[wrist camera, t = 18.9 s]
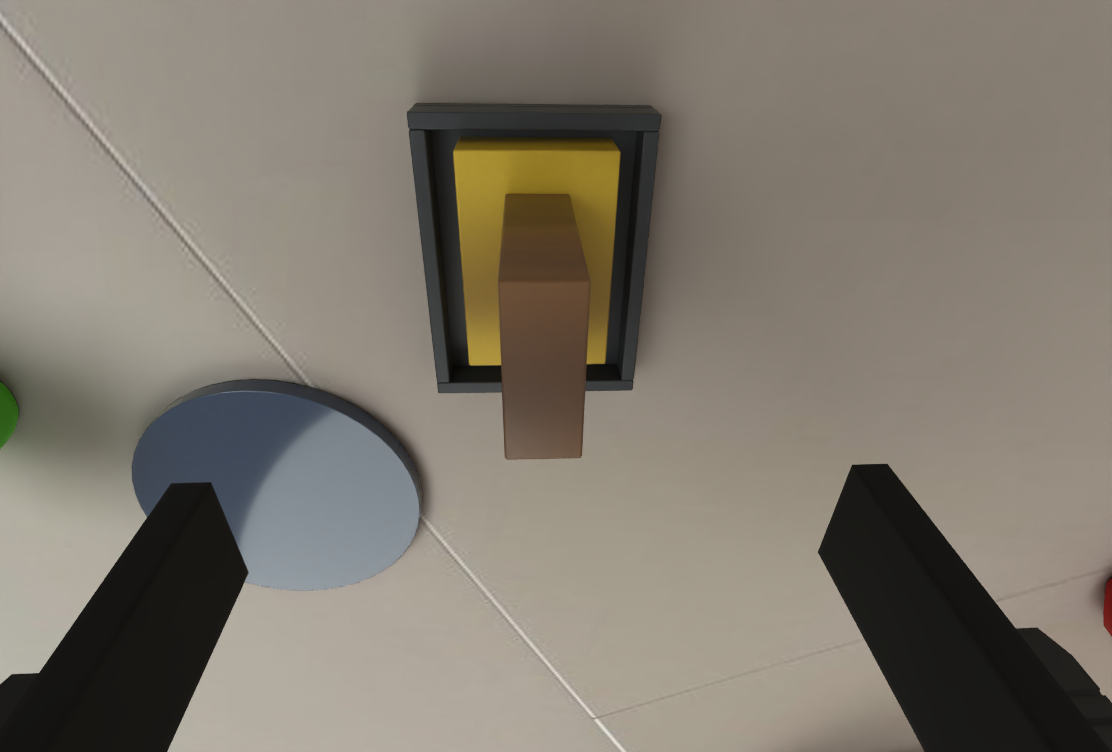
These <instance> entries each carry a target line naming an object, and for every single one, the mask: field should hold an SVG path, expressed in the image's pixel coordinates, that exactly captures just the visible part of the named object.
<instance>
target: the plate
mask: <svg viewBox="0 0 1112 752" xmlns="http://www.w3.org/2000/svg"><path fill="white" fill-rule="evenodd" d="M132 481H133V486H134V490H135V494H136V496H137V499H138V501H139V504H140V506H141V508H142V510H143V511H144V513H145V514H146V516H147V517H148V516H149V514H150V513H151V511H152V510H153V509H154V507H155V506H156V504H157V503H158V501H159V500H160V499H161V497H162V496H163V494H164V493H165V491H166V490H167V488H168V487H169V486H170V484H171V483H199V482H211V483H212V486H213V488H214V490H215V493H216V495H217V498H218V500H219V502H220V505H221V507H222V509H223V512H224V514H225V517H226V519H227V521H228V524H229V526H230V529H231V531H232V533H233V536H234V538H235V541H236V543H237V545H238V548H239V550H240V553H241V555H242V557H243V560H244V562H245V564H246V567H247V569H248V572H249V573H248V575H247V578H246V580H245V582H246V583H250V584H254V585H258V586H262V587H268V588H274V589H282V590H293V591H313V590H326V589H333V588H339V587H343V586H347V585H351V584H355V583H358V582H360V581H363V580H366V579H368V578H371V577H372V576H374V575H376V574H378V573H380V572H382V571H383V570H385V569H386V568H388V567H389V566H391V565H392V564H393V563H394V562H395V561H396V560H398V559H399V558H400V557H401V556H402V555H403V553H404V552H405V551H406V549H407V548H408V547H409V545H410V544H411V542H412V540H413V538H414V536H415V534H416V531H417V528H418V524H419V520H420V514H421V507H422V488H421V483H420V479H419V475H418V473H417V470H416V468H415V466H414V463H413V461H412V460H411V458H410V456H409V455H408V453H407V451H406V450H405V448H404V447H403V446H402V445H401V443H400V442H399V441H398V440H397V439H396V437H395V436H394V435H393V434H392V433H391V432H390V431H389V430H387V429H386V428H385V427H384V426H383V425H382V424H381V423H380V422H378V421H377V420H376V419H374V418H373V417H372V416H370V415H369V414H368V413H366V412H364V411H363V410H361V409H359V408H358V407H356V406H354V405H353V404H351V403H349V402H347V401H344V400H342V399H340V398H338V397H336V396H334V395H331V394H328V393H325V392H322V391H320V390H317V389H314V388H310V387H306V386H302V385H298V384H294V383H287V382H280V381H273V380H240V381H230V382H224V383H219V384H214V385H210V386H207V387H204V388H201V389H198V390H195V391H193V392H191V393H189V394H187V395H185V396H183V397H181V398H179V399H178V400H176V401H175V402H173V403H172V404H171V405H169V406H168V407H167V408H166V409H165V410H164V411H163V412H162V413H161V414H160V415H159V416H158V417H157V418H156V419H155V420H154V421H153V422H152V423H151V424H150V426H149V427H148V428H147V429H146V431H145V432H144V434H143V435H142V437H141V438H140V440H139V442H138V444H137V447H136V449H135V452H134V456H133V462H132Z"/></svg>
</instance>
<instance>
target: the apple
mask: <svg viewBox="0 0 1112 752" xmlns="http://www.w3.org/2000/svg"><path fill="white" fill-rule="evenodd" d="M1103 615H1104V626H1105V628H1106V629H1107V631H1108V632H1109V633H1110V635H1111V636H1112V578H1111V579H1110V580H1109V581H1108V582H1107V583H1106V588H1105V600H1104V611H1103Z"/></svg>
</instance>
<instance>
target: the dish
mask: <svg viewBox="0 0 1112 752" xmlns="http://www.w3.org/2000/svg"><path fill="white" fill-rule="evenodd" d="M407 120H408V127H409V129H410V130H409V137H410V146H411V155H412V164H413V173H414V182H415V191H416V199H417V208H418V217H419V226H420V235H421V244H422V253H423V262H424V271H425V279H426V288H427V297H428V306H429V315H430V324H431V333H432V342H433V350H434V359H435V368H436V377H437V386H438V392H439V393H485V392H502V375H501V365H470V364H469V357H468V343H467V330H466V317H465V304H464V290H463V277H462V264H461V251H460V238H459V224H458V211H457V198H456V185H455V171H454V158H453V151H454V148H455V146H456V144H457V142H458V139H459V137H601V138H612V140H613V141H614V143H615V144H616V146H617V147H618V149H619V151H620V153H621V155H620V168H619V182H618V196H617V210H616V224H615V238H614V252H613V265H612V279H611V293H610V307H609V321H608V335H607V349H606V362H605V364H587V366H586V386H585V391H622V390H632V389H633V379H634V371H635V361H636V352H637V342H638V332H639V323H640V313H641V304H642V294H643V285H644V275H645V265H646V256H647V246H648V237H649V227H650V217H651V208H652V198H653V189H654V179H655V169H656V160H657V150H658V141H659V132H658V131H659V130H660V122H661V114H660V113H658V112H657V111H656V110H655V109H654V108H653V107H652V106H650V105H559V104H456V103H416V104H415V105H414V106H413V107H412V108H411V109H410V110H409V111H408V112H407Z"/></svg>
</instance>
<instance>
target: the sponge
mask: <svg viewBox="0 0 1112 752" xmlns="http://www.w3.org/2000/svg"><path fill="white" fill-rule="evenodd" d="M620 155H621V153H620V151H619V149H618V147H617V146H616V144H615V143H614V141H613V140H612V138H601V137H459V139H458V142H457V144H456V146H455V148H454V151H453V158H454V171H455V185H456V198H457V211H458V224H459V238H460V251H461V264H462V277H463V290H464V304H465V317H466V330H467V343H468V357H469V364H470V365H501V375H502V400H503V424H504V449H505V458H506V459H508V460H510V459H559V458H581V456H582V444H583V424H584V405H585V386H586V366H587V364H605V362H606V349H607V335H608V321H609V307H610V293H611V279H612V265H613V252H614V238H615V224H616V210H617V196H618V182H619V168H620Z"/></svg>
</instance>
